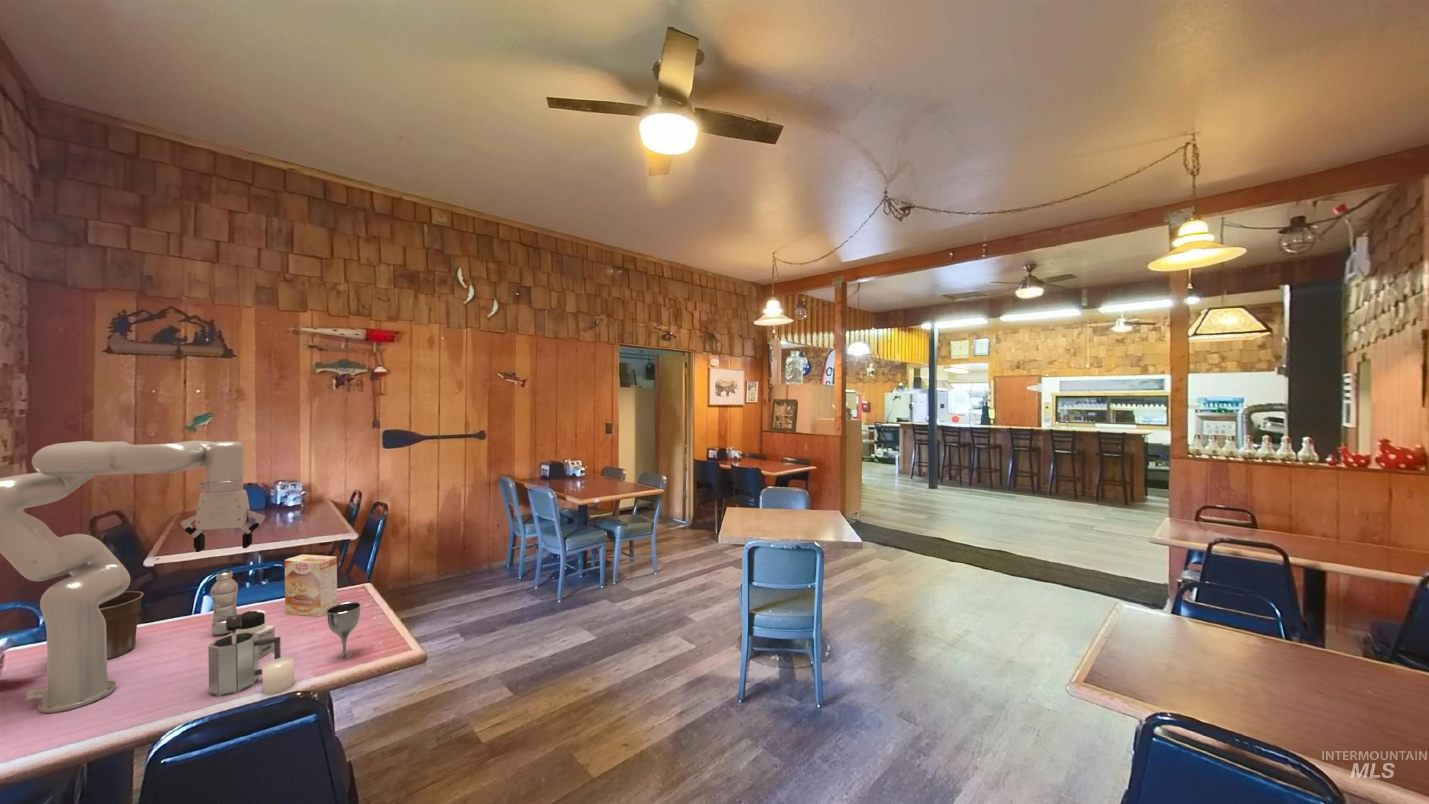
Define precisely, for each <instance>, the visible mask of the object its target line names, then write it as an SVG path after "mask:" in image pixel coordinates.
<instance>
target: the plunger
mask: <svg viewBox="0 0 1429 804" xmlns="http://www.w3.org/2000/svg"><path fill="white" fill-rule="evenodd" d="M241 627H242V622H241V614H237V615H232V616H229V617H227V618H226V630H227V631H232V632H231V633H232V645H236V631H237V629H239V628H241Z"/></svg>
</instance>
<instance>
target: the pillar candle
mask: <svg viewBox="0 0 1429 804" xmlns="http://www.w3.org/2000/svg"><path fill="white" fill-rule="evenodd" d="M294 659H295V658H294V657H291V656H285V657H283V656H282V657H281V658H278V659H275V658H274V659H273V660H270V661H268V662H266V663H264V664H263V665H262V666H261V669H262V675H261V678H262V679H261V680H262V681H261V682H262V685H261V686H262V689H261V690H262V694H263V695H275V694H279V693H282V692H284V691H286V690H289V689H290V688H291V687H293V686H294V685H295V660H294Z"/></svg>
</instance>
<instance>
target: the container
mask: <svg viewBox="0 0 1429 804" xmlns="http://www.w3.org/2000/svg"><path fill="white" fill-rule="evenodd" d="M240 615H241V622H242V627H241V628H239V629H236V633H241V632H248V631H251V632H255V633H258V640H263V639H269V638H275V637H276V635H275V634H276V630H275V629H276V628H275V625H270V624H269V625H267V612H266V611H265V610H263V609H253V610H248V611H245V612H243V613H241V614H240ZM230 634H232V632H230V633H228V635H230ZM273 652H274V643H271V644H265V645H260V646H258V656H259V659H260V658H262V657H264V656H267V655H269V654H271V653H273Z"/></svg>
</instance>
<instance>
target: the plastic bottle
mask: <svg viewBox="0 0 1429 804" xmlns="http://www.w3.org/2000/svg"><path fill="white" fill-rule="evenodd" d="M232 577H233V570H224V571H218V572H217V573H216V577H215V580H216V582H214V584H213V585H212V586H211V589H210V592H209V593H210V596H211V600H212V608H213V615H212V621H211V626H210V629H211V633H212V634H213V635H216V636H221V635H222V636H223V635H226V634H231V633H232V631H227V630H226V618H227V617H229V616H232V615H238V610H237V597H238V590H239V584H238V582H236V580H234V579H233V578H232Z"/></svg>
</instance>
